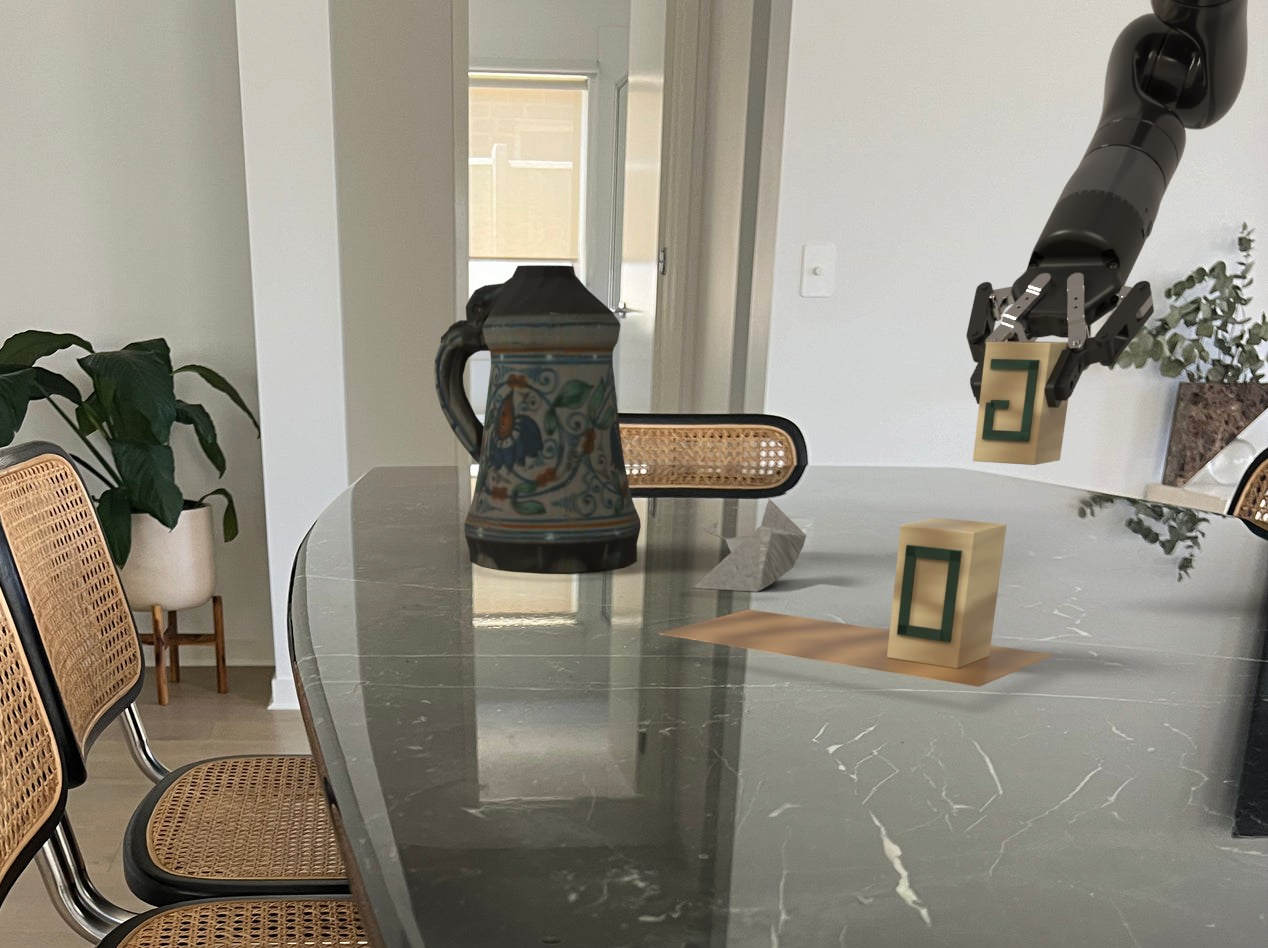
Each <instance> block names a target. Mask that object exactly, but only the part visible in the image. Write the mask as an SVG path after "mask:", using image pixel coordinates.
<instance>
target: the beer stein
mask: <svg viewBox="0 0 1268 948" xmlns="http://www.w3.org/2000/svg"><path fill="white" fill-rule="evenodd" d="M465 317H466V319H463V320H458V321H456V322H454V323H453V324H451V325H450V326H449V328H447V330H446V332H444V333H443V334H442V336H441V337H440V345H439V347H438V348H437V349H438V350H437V352H436V356H435V359H434V371H433V375H434V383H435V384H434V385H435V391H436V395H437V398H438V402H439V405H440V408H441V410H442V413H443V415H444V417H445V419H446V421H447V423H448V425H449V426H450V428H451V430H452V431H453V433H454V435H455V436H456V438H457V440H458V441H459V443H461V445H462V446H463V448H464V449H465V450H466V451H467V452H468V454H469V455H470V457H471V458H472V459H474V461H475V462H477V464H478V470H477V476H476V482H475V486H474V491H473V495H472V500H471V504H470V506H469V510H468V512H467V514H466V517H465V519H464V535H465V540H466V543H467V547H468V550H469V561H470V562H472V563H473V564H476V565H477V566H480V567H484V568H489V569H494V570H499V571H508V572H509V571H510V572H521V573H535V574H575V573H578V574H580V573H594V572H595V573H596V572H603V571H604V572H605V571H610V570H616V569H622V568H627V567H628V566H631V565H632V564H634V563H636V562H638V541H639V536H640V533H641V532H640V531H641V518H640V516H639V514H638V511H637V508H636V506H635V504H634V500H633V495H632V492H631V488H630V484H629V480H628V474H627V469H626V464H625V457H624V451H623V442H622V436H621V429H620V418H619V409H618V401H617V400H618V399H617V391H616V382H615V381H616V380H615V373H614V362H613V361H614V360H613V359H614V350H615V348H616V346H617V344H618V342H619V337H620V331H621V323H620V321H619V318H617V317H616V315H615V312H613V311H612V309H610V308H609V307H608V306H607V305H606V304H605V303H603V302H602V300H600V299H599V298H597V296H595V294H594V293H592V292H590V290H589V289H588V288H587V287H586V286H585V285H584V284H583V282H582V281H581V279H580V278H578V276H577V275H576V272H575V268H574V266H573V265H558V264H557V265H556V264H555V265H551V264H550V265H549V264H548V265H547V264H543V265H541V264H538V265H537V264H536V265H533V264H531V265H530V264H528V265H527V264H526V265H517V266H516V268H515V270H514V272H513V274H512V276H511V277H510V278H509V279H507V280H506V281H505V282H503V283H494V284H493V283H492V284H485V285H483V286H480V287H479V288H476V289H475V290H474V291H473V293H472V294H471V295H470V297H469V299H468V301H467V303H466V305H465ZM479 352H489V354H490V371H489V376H488V377H489V378H488V387H487V394H486V403H485V410H484V411H485V412H484V420H483V423H482V422H481V421H480V420H479V418H478V416H477V415H476V413H475V411H474V409H473V407H472V405H471V403H470V401H469V398H468V396H467V393H466V389H465V385H464V374H465V369H466V365H467V362H468V360H469V358H471V357H472V356H473V355H474V354H476V353H479Z"/></svg>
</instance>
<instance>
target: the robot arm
mask: <svg viewBox="0 0 1268 948" xmlns="http://www.w3.org/2000/svg"><path fill="white" fill-rule="evenodd" d="M1149 1H1150V6H1151V9H1152V11H1153V12H1149V13H1145V14H1142V15H1140V16H1138V17H1136V18H1135V19H1133V20H1131V21H1130V22H1129V23H1128V24H1127V25H1126V26H1124V28H1123V29H1122V30H1121V31H1120V32H1119V34H1118V36H1117V37H1116V39H1115V41H1114V43H1113V45H1112V47H1111V51H1110V53H1109V57H1108V61H1107V65H1106V71H1105V78H1104V87H1103V100H1102V107H1101V113H1100V116H1099V120H1098V123H1097V126H1096V128H1095V131H1094V134H1093V137H1092V138H1091V140H1090V142H1089V144H1088V146H1087V148H1086V150H1085V151H1084V153H1083V156H1082V158H1081V160H1080V162H1079V164H1078V166H1077V168H1076V169H1075V170H1074V172H1073V173H1072V175H1071V176H1070V178H1069V179H1068V180H1067V182H1066V184H1065V186H1064V187H1063V189H1062V191H1061V193H1060V195H1059V197H1058V199H1057V201H1056V203H1055V205H1054V207H1053V209H1052V211H1051V213H1050V215H1049V217H1048V219H1047V220H1046V223H1045V225H1044V227H1043V229H1042V231H1041V233H1040V235H1039V237H1038V239H1037V241H1036V243H1035V245H1034V247H1033V249H1032V252H1031V254H1030V258H1029V260H1028V265H1027V268H1026V270H1024V272H1023V273H1022V274H1021V275H1020V276H1019V277H1018V278H1016V279H1015V280H1014V282H1013V284H1012V285H1011V286H1007V287H1001V288H996V289H994V288H993V284H992V282H990V281H984V282H981V283H980V284H979V285H977V286H976V289H975V293H974V298H973V303H972V308H971V312H970V317H969V321H968V326H967V330H966V340H967V343H968V347H969V350H970V352H971V357H972V361H973V362H974V363H977V364H976V366H975V368H974V370H973V371H972V374H971V376H970V378H969V385H970V389H971V392H972V395H973V398H975V401H976V404H977V405H979V402H980V393H981V385H982V376H983V367H984V358H985V350H986V343H987V342H1005V341H1035V342H1036V340H1038V338H1047V337H1051V336H1054V337H1058V338H1061V339H1062V338H1063V339H1067V342H1068V346H1069V348H1068V350H1062V352H1061V354H1060V356H1059V358H1058V360H1057V362H1056V364H1055V367H1054V369H1053V371H1052V373H1051V375H1050V377H1049V379H1048V381H1047V383H1046V385H1045V389H1044V391H1045V396H1046V400H1047V404H1048V407H1050V408H1058V407H1059V406H1060V404H1061V402H1062V401H1066V400H1067V399H1068V400H1069V399H1070V398H1071V397H1072V396H1073V395H1072V394H1073V393H1074V390H1075V388H1076V386H1077V384H1078V382H1079V380H1080V378H1081V376H1082V374H1083V373H1084V371H1086V370H1088V369H1089V368H1090V366H1091V365H1093V364H1098V363H1099V364H1100V366H1102V367H1108V366H1109V367H1110V366H1111V365H1113V364H1115V362H1116V361H1117V360H1118V359H1119V357H1120V356H1121V355H1122V354H1123V353H1124V352H1125V350H1126V349H1127V347H1128V346H1129V345H1130V344H1131V342H1132V341H1133V339H1134V338H1135V337H1136V336H1137V335H1138V333H1139V332H1140V331H1141V329H1142V328H1143V327H1144V325H1145V324H1146V323H1147V322H1148V321H1149V319H1150V318H1151V317H1152V315H1153V314H1154V312H1155V307H1154V299H1153V293H1152V288H1151V283H1150V282H1149V281H1148V280H1140V281H1138V282H1136V283H1135V284H1134V285H1133V287H1132V286H1127V285H1126V283H1127V281H1128V279H1129V277H1130V275H1131V273H1132V271H1133V268H1134V266H1135V265H1136V262H1137V260H1138V258H1139V256H1140V254H1141V252H1142V249H1143V247H1144V245H1145V244H1146V242H1147V239H1148V238H1149V237H1150V236H1151V234H1152V230H1153V227H1154V224H1155V222H1156V220H1157V217H1158V213H1159V210H1160V206H1161V204H1162V201H1163V198H1164V195H1165V194H1166V192H1167V190H1168V187H1169V185H1170V183H1171V181H1172V179H1173V177H1174V175H1175V174H1176V171H1177V169H1178V167H1179V165H1180V162H1181V160H1182V159H1183V155H1184V152H1185V149H1186V144H1187V132H1186V129H1187V130H1192V131H1193V130H1194V131H1198V130H1199V131H1200V130H1201V131H1202V130H1204V129H1208V128H1210V127H1212V126H1213V125H1215V124H1217V123H1218V122H1220V120H1222V119H1223V118H1224V117H1225V116H1226V115H1227V114H1228V113H1229V112H1230V110H1231V109H1232V107H1233V106H1234V104H1235V103H1236V101H1237V99H1238V97H1239V95H1240V93H1241V90H1242V86H1243V83H1244V79H1245V76H1246V70H1247V63H1248V51H1249V48H1248V47H1249V45H1248V43H1249V42H1248V3H1249V0H1149ZM1009 306H1010V307H1009ZM1008 307H1009V308H1008ZM1007 308H1008V309H1007ZM1006 309H1007V310H1006ZM1005 310H1006V311H1005ZM1112 311H1113V312H1112ZM1110 312H1112V313H1111V314H1110V315H1109V317H1108V318H1107V320H1106V321H1105V322H1104V323H1103V325H1102V326H1101V327H1100V329H1099V330H1097V332H1096V333H1095V335H1094V336H1092V326H1093V324H1094V323H1096V322H1097V321H1099V320H1100V319H1102V318H1103V317H1104V316H1106V315H1107V314H1109V313H1110ZM1000 321H1001V322H1000ZM996 322H1000V324H998V326H997V327H996V328H995V326H996Z"/></svg>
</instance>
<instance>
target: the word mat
mask: <svg viewBox="0 0 1268 948" xmlns="http://www.w3.org/2000/svg"><path fill="white" fill-rule="evenodd" d="M889 633H890V629H883V628H877V627H870V626H863V625H857V624H849V623H844V622H837V621H829V620H823V619H816V618H810V617H803V616H796V615H790V614H784V613H783V614H782V613H775V612H768V611H761V610H755V609H744V610H740V611H737V612H733V613H729V614H726V615H722V616H719V617H715V618H711V619H707V620H703V621H699V622H695V623H692V624H688V625H685V626H681V627H677V628H673V629H669V630H665V631H661V632H659V633H658V634H659V635H662V636H663V635H664V636H670V637H677V638H682V639H687V640H694V641H700V642H706V643H712V644H718V645H724V646H730V647H736V648H737V647H738V648H742V649H749V650H753V651H761V652H767V653H773V654H778V655H784V656H790V657H797V658H802V659H808V660H815V661H820V662H825V663H826V662H827V663H832V664H839V665H846V666H851V667H855V668H862V669H868V670H875V671H881V672H886V673H893V674H899V675H906V676H910V677H911V676H912V677H916V678H923V679H929V680H934V681H940V682H946V683H947V682H948V683H953V684H959V685H965V686H971V687H978V688H980V687H982V686H984V685H987V684H990V683H991V682H993V681H996V680H998V679H1001V678H1003V677H1005V676H1008V675H1010V674H1012V673H1014V672H1017V671H1020V670H1022V669H1024V668H1027V667H1029V666H1032V665H1034V664H1036V663H1038V662H1041V661H1043V660H1045V659H1047V658H1050V657H1052V656H1053V653H1046V652H1040V651H1032V650H1026V649H1019V648H1012V647H1006V646H1005V647H1004V646H998V645H992V644H991V646H990V653H989V656H988V657H985V658H983V659H980V660H978V661H975V662H973V663H970V664H968V665H965V666H963V667H960V668H958V669H955V668H949V667H942V666H936V665H930V664H924V663H917V662H911V661H905V660H899V659H892V658H887V652H888V643H889Z"/></svg>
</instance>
